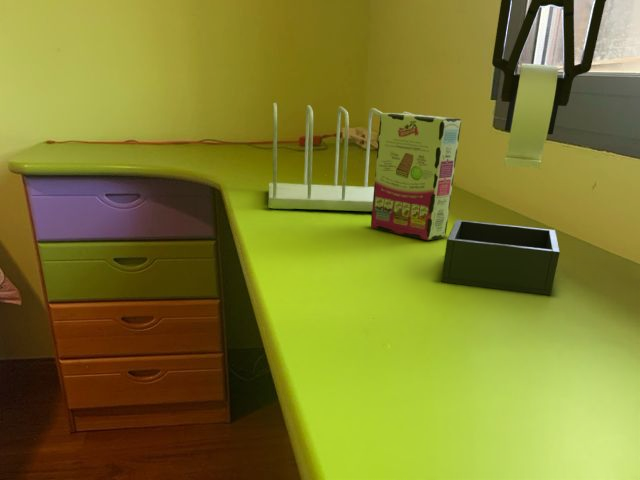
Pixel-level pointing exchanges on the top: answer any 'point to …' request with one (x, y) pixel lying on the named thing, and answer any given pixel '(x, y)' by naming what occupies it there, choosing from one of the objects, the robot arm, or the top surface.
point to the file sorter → (322, 194)
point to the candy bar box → (414, 174)
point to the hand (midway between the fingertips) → (528, 131)
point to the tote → (501, 257)
